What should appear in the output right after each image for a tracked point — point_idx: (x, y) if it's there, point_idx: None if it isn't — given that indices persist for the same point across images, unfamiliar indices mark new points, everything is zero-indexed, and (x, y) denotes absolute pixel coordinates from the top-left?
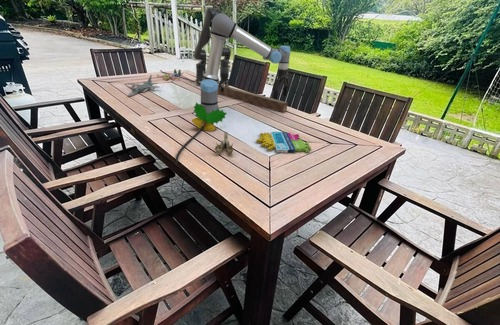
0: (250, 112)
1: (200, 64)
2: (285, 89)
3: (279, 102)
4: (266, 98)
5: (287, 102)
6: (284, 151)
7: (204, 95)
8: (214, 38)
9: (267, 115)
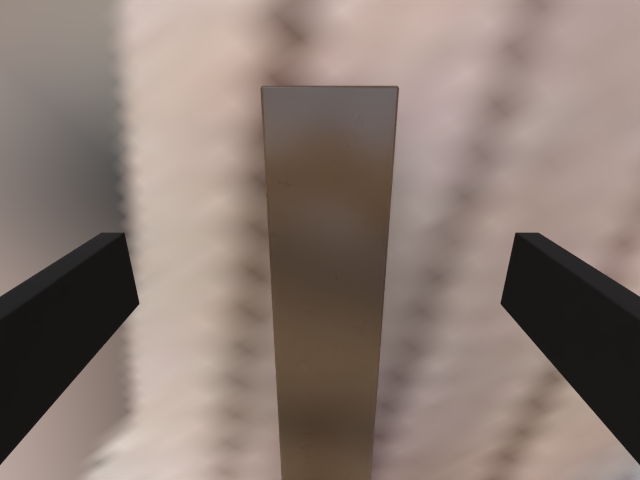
0: None
1: None
2: (9, 372)
3: (390, 200)
4: (356, 439)
5: (263, 86)
6: None
7: None
8: None
9: (612, 176)
